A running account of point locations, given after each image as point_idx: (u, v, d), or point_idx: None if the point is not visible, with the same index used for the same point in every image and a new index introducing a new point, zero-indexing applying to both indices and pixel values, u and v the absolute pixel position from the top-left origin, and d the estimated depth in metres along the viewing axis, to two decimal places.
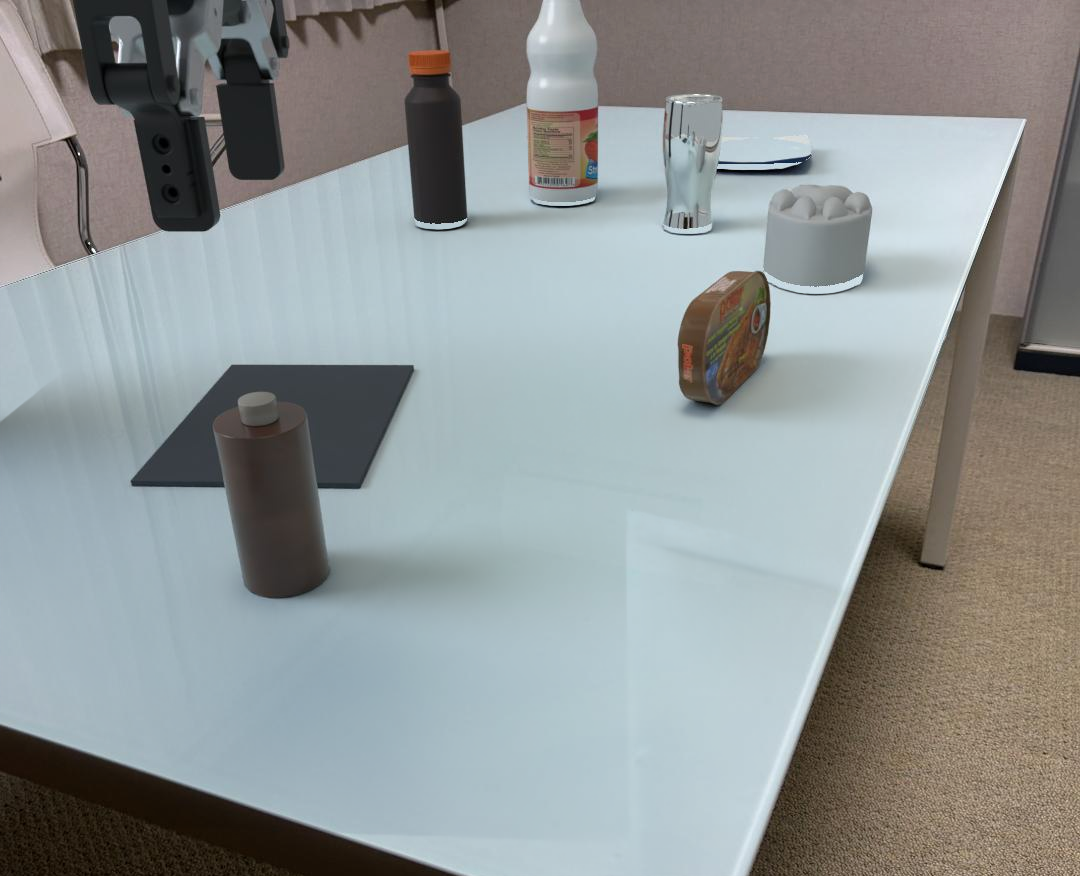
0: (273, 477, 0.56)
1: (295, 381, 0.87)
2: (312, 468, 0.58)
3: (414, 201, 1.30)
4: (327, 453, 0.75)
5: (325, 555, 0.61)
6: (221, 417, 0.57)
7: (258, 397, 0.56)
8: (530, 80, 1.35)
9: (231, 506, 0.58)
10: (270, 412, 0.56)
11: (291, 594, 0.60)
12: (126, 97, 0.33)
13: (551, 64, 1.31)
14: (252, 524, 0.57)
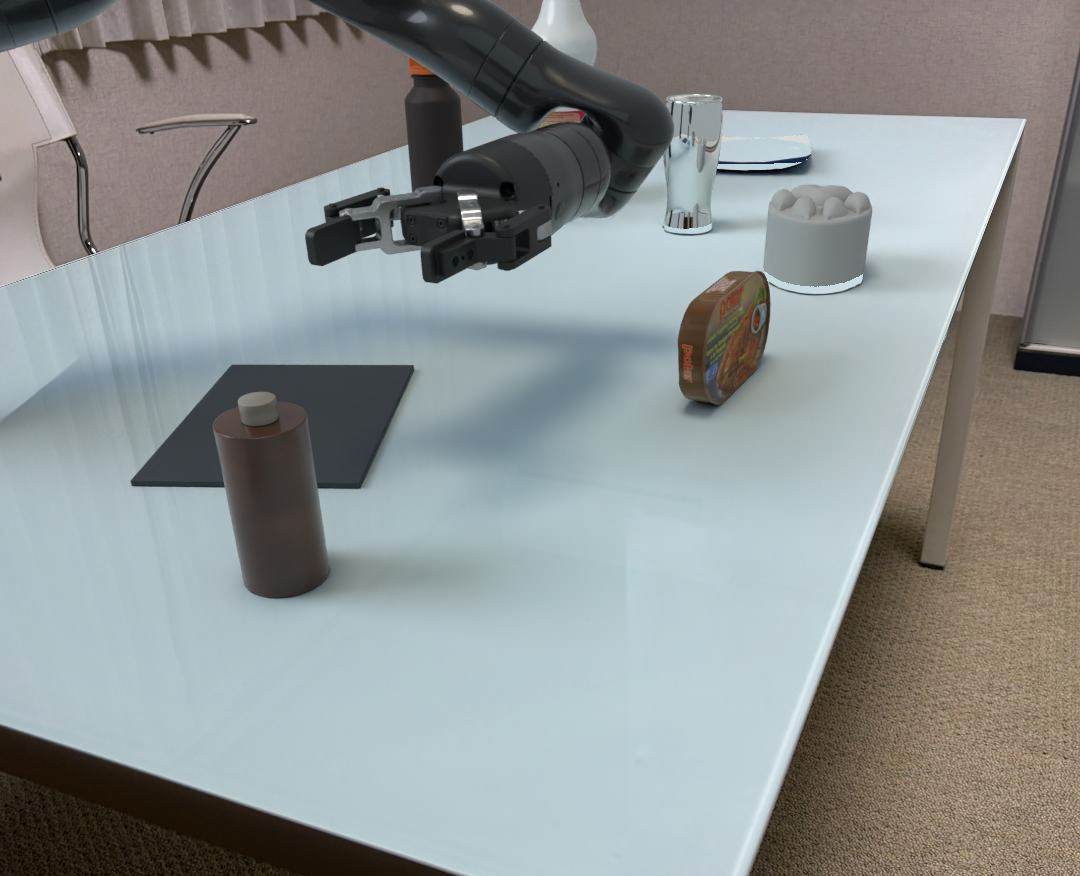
0: (273, 477, 0.56)
1: (295, 381, 0.87)
2: (312, 468, 0.58)
3: None
4: (327, 453, 0.75)
5: (325, 555, 0.61)
6: (221, 417, 0.57)
7: (258, 397, 0.56)
8: None
9: (231, 506, 0.58)
10: (270, 412, 0.56)
11: (291, 594, 0.60)
12: (509, 246, 0.62)
13: None
14: (252, 524, 0.57)
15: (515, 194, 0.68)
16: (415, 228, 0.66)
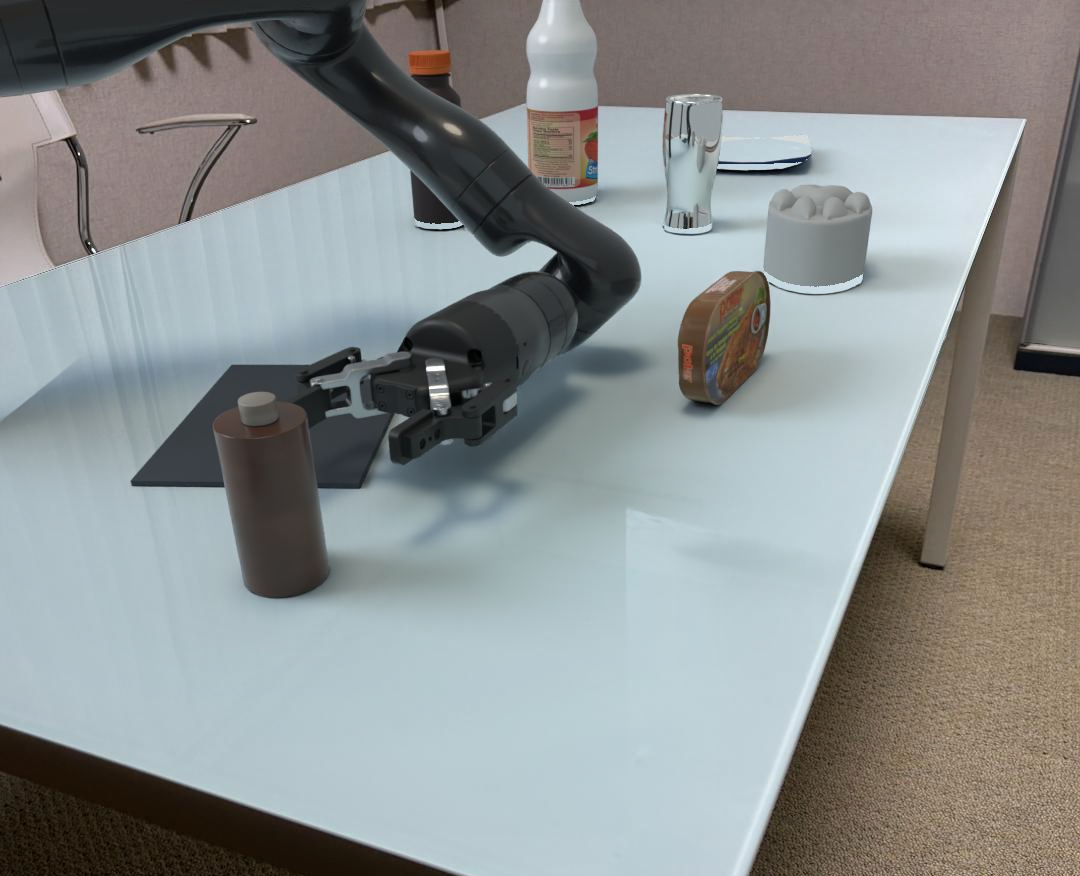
0: (273, 477, 0.56)
1: (295, 381, 0.87)
2: (312, 468, 0.58)
3: (414, 201, 1.30)
4: (327, 453, 0.75)
5: (325, 555, 0.61)
6: (221, 417, 0.57)
7: (258, 397, 0.56)
8: (530, 80, 1.35)
9: (231, 506, 0.58)
10: (270, 412, 0.56)
11: (291, 594, 0.60)
12: (475, 425, 0.64)
13: (551, 64, 1.31)
14: (252, 524, 0.57)
15: (482, 360, 0.70)
16: (384, 396, 0.68)
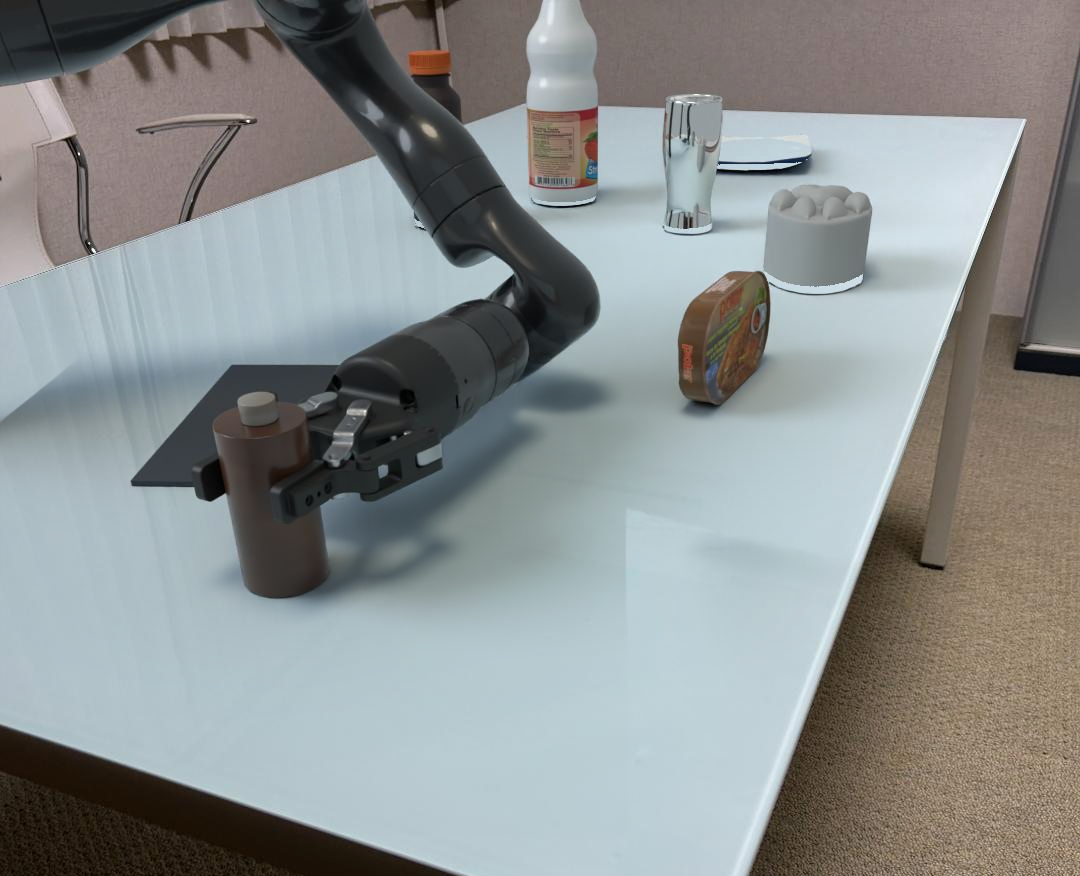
0: (273, 477, 0.56)
1: (295, 381, 0.87)
2: None
3: None
4: None
5: (325, 555, 0.61)
6: (221, 417, 0.57)
7: (258, 397, 0.56)
8: (530, 80, 1.35)
9: (231, 506, 0.58)
10: (270, 412, 0.56)
11: (291, 594, 0.60)
12: (371, 478, 0.58)
13: (551, 64, 1.31)
14: (252, 524, 0.57)
15: (416, 402, 0.64)
16: None
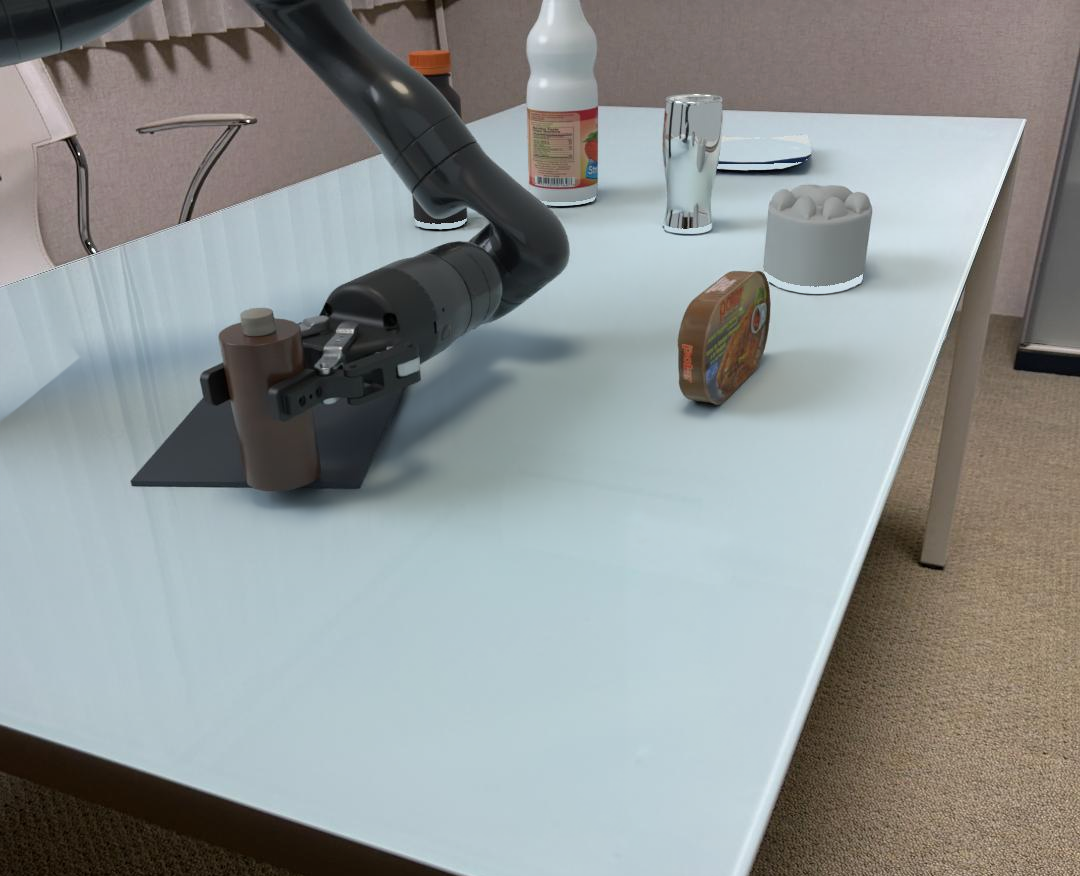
0: (271, 381, 0.64)
1: None
2: None
3: (414, 201, 1.30)
4: (327, 453, 0.75)
5: (317, 456, 0.69)
6: (225, 330, 0.65)
7: (258, 312, 0.65)
8: (530, 80, 1.35)
9: (234, 408, 0.66)
10: (268, 324, 0.64)
11: (287, 488, 0.68)
12: (356, 384, 0.66)
13: (551, 64, 1.31)
14: (253, 424, 0.66)
15: (397, 324, 0.72)
16: None
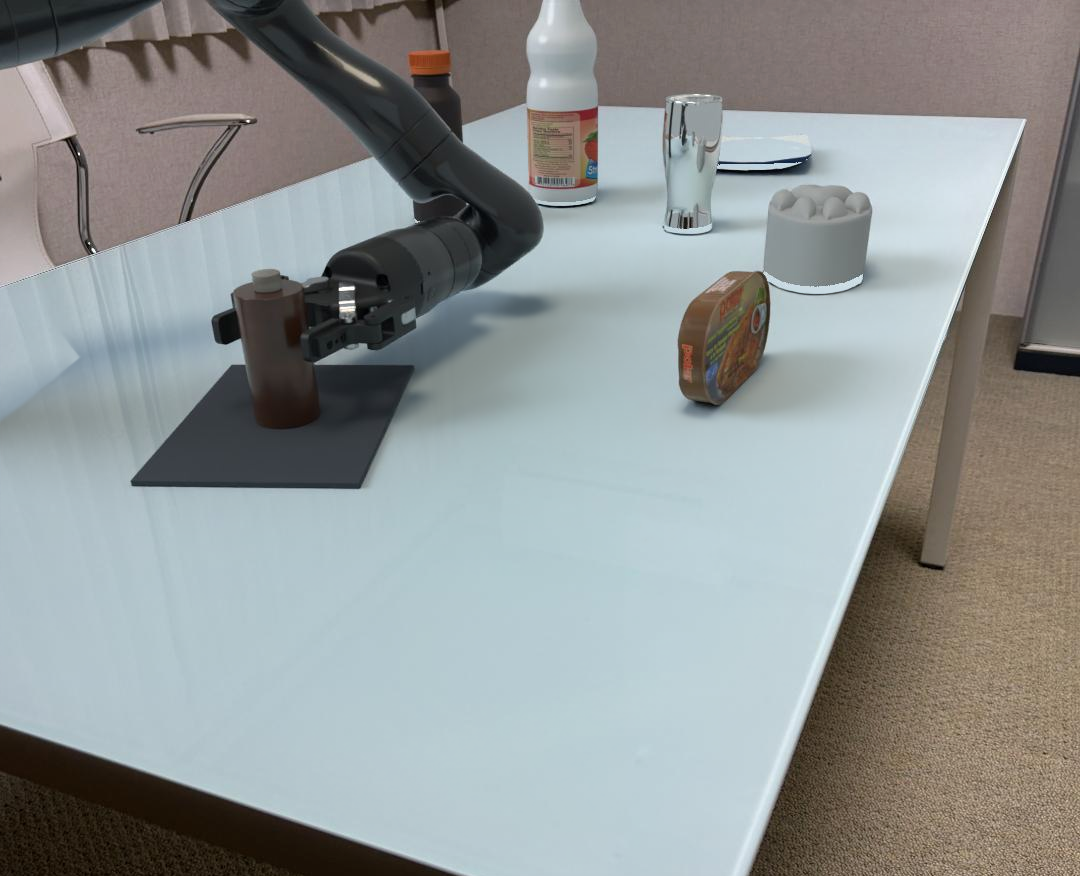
0: (278, 331, 0.75)
1: None
2: (307, 328, 0.77)
3: (414, 201, 1.30)
4: (327, 453, 0.75)
5: (317, 399, 0.80)
6: (239, 288, 0.76)
7: (267, 272, 0.75)
8: (530, 80, 1.35)
9: (246, 356, 0.77)
10: (276, 282, 0.75)
11: (291, 426, 0.79)
12: (375, 332, 0.77)
13: (551, 64, 1.31)
14: (262, 369, 0.77)
15: (389, 284, 0.83)
16: None
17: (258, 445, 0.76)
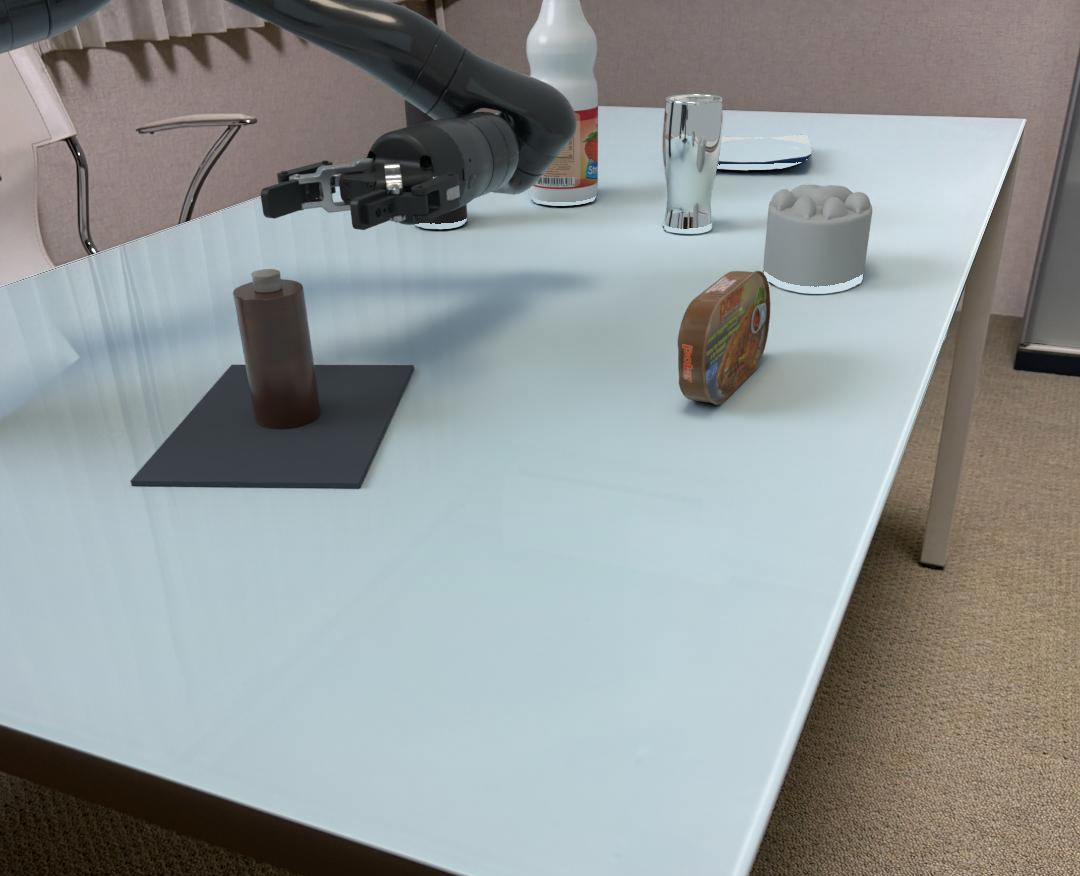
0: (278, 331, 0.75)
1: None
2: (307, 328, 0.77)
3: None
4: (327, 453, 0.75)
5: (317, 399, 0.80)
6: (239, 288, 0.76)
7: (267, 272, 0.75)
8: None
9: (246, 356, 0.77)
10: (276, 282, 0.75)
11: (291, 426, 0.79)
12: (422, 203, 0.78)
13: (551, 64, 1.31)
14: (262, 369, 0.77)
15: (432, 165, 0.84)
16: (350, 191, 0.83)
17: (258, 445, 0.76)
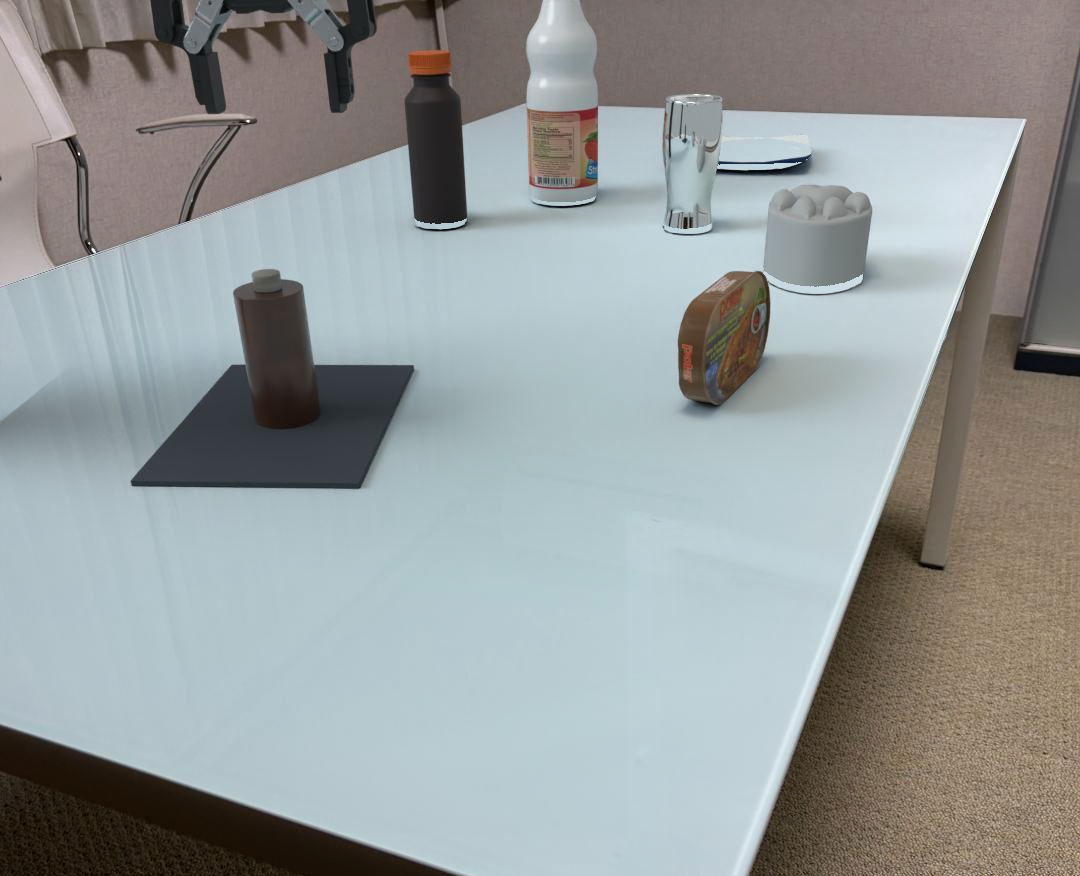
0: (278, 331, 0.75)
1: None
2: (307, 328, 0.77)
3: (414, 201, 1.30)
4: (327, 453, 0.75)
5: (317, 399, 0.80)
6: (239, 288, 0.76)
7: (267, 272, 0.75)
8: (530, 80, 1.35)
9: (246, 356, 0.77)
10: (276, 282, 0.75)
11: (291, 426, 0.79)
12: (370, 34, 0.69)
13: (551, 64, 1.31)
14: (262, 369, 0.77)
15: None
16: None
17: (258, 445, 0.76)
